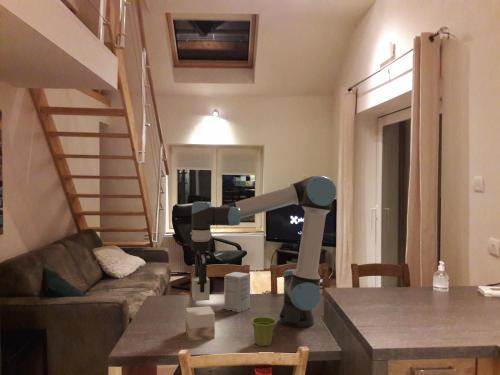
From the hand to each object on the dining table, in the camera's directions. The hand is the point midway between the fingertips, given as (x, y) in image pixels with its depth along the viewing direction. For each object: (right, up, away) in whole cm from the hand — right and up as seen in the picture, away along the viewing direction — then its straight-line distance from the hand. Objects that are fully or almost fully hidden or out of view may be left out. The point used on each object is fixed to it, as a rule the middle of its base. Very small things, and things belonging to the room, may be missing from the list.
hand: (200, 297), depth 162 cm
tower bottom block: (0, -15, 0) cm, 15 cm away
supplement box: (+14, -15, +35) cm, 40 cm away
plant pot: (+25, -15, -8) cm, 30 cm away
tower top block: (0, -10, 0) cm, 10 cm away
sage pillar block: (0, 0, 0) cm, 0 cm away
